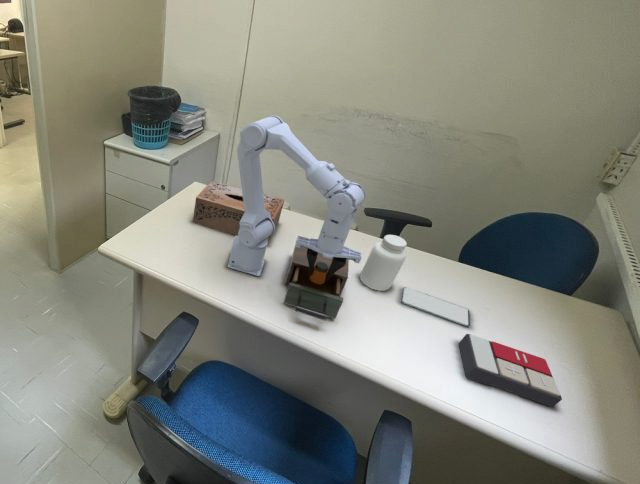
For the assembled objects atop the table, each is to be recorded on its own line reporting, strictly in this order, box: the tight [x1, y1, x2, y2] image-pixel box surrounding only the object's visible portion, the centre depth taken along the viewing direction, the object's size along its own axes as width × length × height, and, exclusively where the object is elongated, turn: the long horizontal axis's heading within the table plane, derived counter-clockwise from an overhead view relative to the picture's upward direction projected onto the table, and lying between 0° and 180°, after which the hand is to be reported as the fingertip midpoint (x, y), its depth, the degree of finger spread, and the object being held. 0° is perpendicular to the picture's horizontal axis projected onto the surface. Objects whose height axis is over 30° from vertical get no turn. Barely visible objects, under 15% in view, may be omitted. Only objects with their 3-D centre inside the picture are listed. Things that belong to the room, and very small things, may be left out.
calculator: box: [458, 333, 563, 408], centre depth 87 cm, size 11×4×15 cm
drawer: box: [283, 266, 344, 321], centre depth 103 cm, size 17×13×6 cm
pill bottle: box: [359, 234, 408, 292], centre depth 109 cm, size 8×8×15 cm
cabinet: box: [284, 235, 349, 297], centre depth 112 cm, size 14×14×8 cm
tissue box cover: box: [192, 180, 285, 246], centre depth 135 cm, size 26×14×10 cm, turn 59°
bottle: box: [310, 262, 329, 284], centre depth 101 cm, size 4×4×5 cm
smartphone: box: [401, 287, 471, 327], centre depth 105 cm, size 7×1×15 cm
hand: (318, 275), depth 102 cm, fingers closed on bottle, 3 cm apart
